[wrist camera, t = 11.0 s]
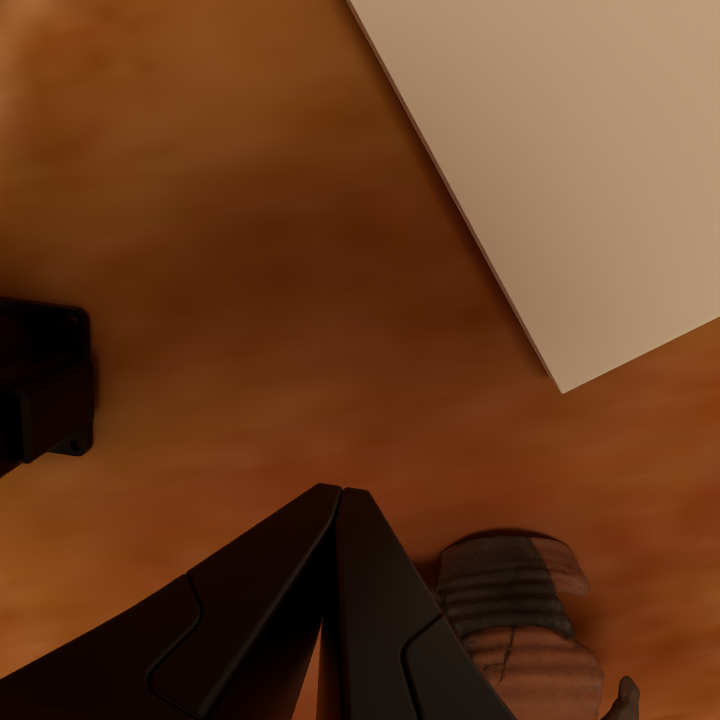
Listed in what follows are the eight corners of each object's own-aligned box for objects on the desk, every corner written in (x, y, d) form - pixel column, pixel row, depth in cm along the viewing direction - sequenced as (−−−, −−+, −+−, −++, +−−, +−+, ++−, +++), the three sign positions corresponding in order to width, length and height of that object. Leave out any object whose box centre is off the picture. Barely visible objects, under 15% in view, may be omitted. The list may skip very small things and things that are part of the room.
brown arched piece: (639, 539, 24) (731, 778, 18) (524, 612, 30) (565, 805, 25) (378, 499, 21) (390, 768, 15) (313, 589, 27) (304, 801, 22)
